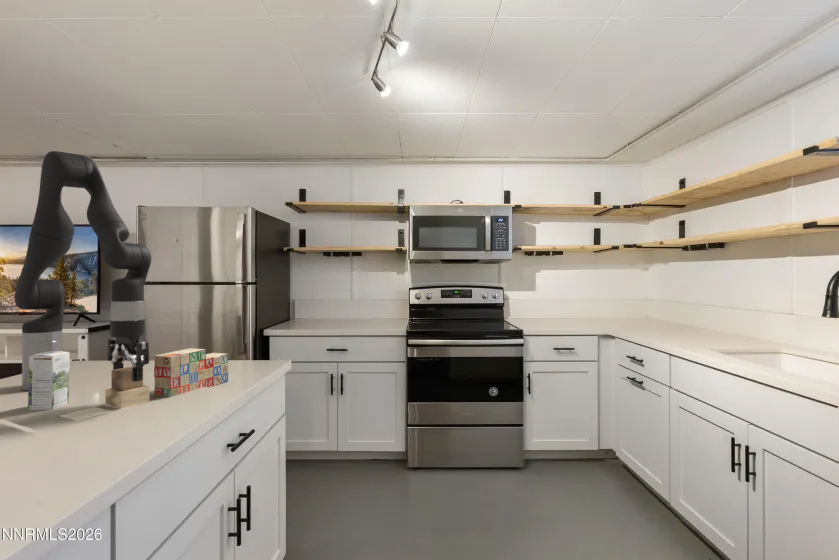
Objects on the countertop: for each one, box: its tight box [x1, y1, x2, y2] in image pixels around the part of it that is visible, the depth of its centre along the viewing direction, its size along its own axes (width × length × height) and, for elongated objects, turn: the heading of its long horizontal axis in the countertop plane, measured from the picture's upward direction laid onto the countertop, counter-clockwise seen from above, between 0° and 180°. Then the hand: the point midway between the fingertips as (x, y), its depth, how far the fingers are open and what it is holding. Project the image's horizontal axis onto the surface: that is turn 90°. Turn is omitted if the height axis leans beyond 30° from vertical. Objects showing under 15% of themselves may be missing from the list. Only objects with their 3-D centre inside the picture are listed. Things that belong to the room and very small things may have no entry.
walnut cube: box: [111, 366, 144, 391], centre depth 109 cm, size 5×5×5 cm
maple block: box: [104, 384, 150, 410], centre depth 109 cm, size 7×7×4 cm
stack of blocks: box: [153, 347, 229, 398], centre depth 125 cm, size 21×6×12 cm, turn 162°
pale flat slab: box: [60, 400, 151, 422], centre depth 106 cm, size 15×17×1 cm
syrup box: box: [27, 350, 71, 411], centre depth 106 cm, size 6×6×14 cm
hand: (127, 379), depth 109 cm, fingers open, 8 cm apart
